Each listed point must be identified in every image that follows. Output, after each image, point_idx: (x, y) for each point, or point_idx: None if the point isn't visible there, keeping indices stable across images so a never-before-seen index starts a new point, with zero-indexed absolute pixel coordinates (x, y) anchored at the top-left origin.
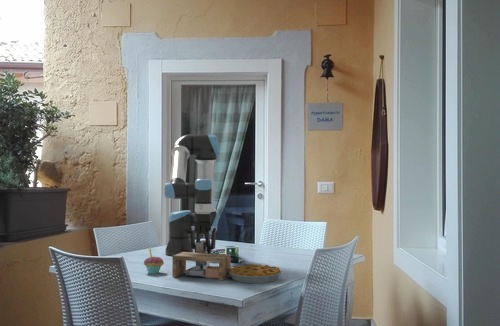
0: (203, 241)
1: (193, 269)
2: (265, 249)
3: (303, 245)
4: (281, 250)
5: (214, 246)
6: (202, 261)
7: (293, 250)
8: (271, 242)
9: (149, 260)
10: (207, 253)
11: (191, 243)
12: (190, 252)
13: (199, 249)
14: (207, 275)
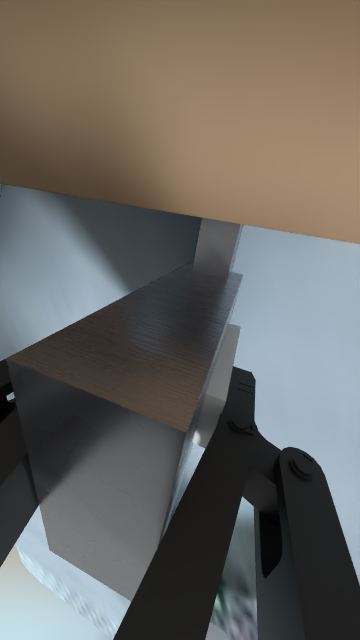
0: (87, 519)
1: None
2: (94, 584)
3: (43, 581)
4: (59, 561)
5: (12, 401)
6: (174, 274)
7: (38, 551)
8: (107, 631)
9: None
10: (35, 172)
11: (329, 549)
12: (312, 220)
13: (160, 322)
14: None
